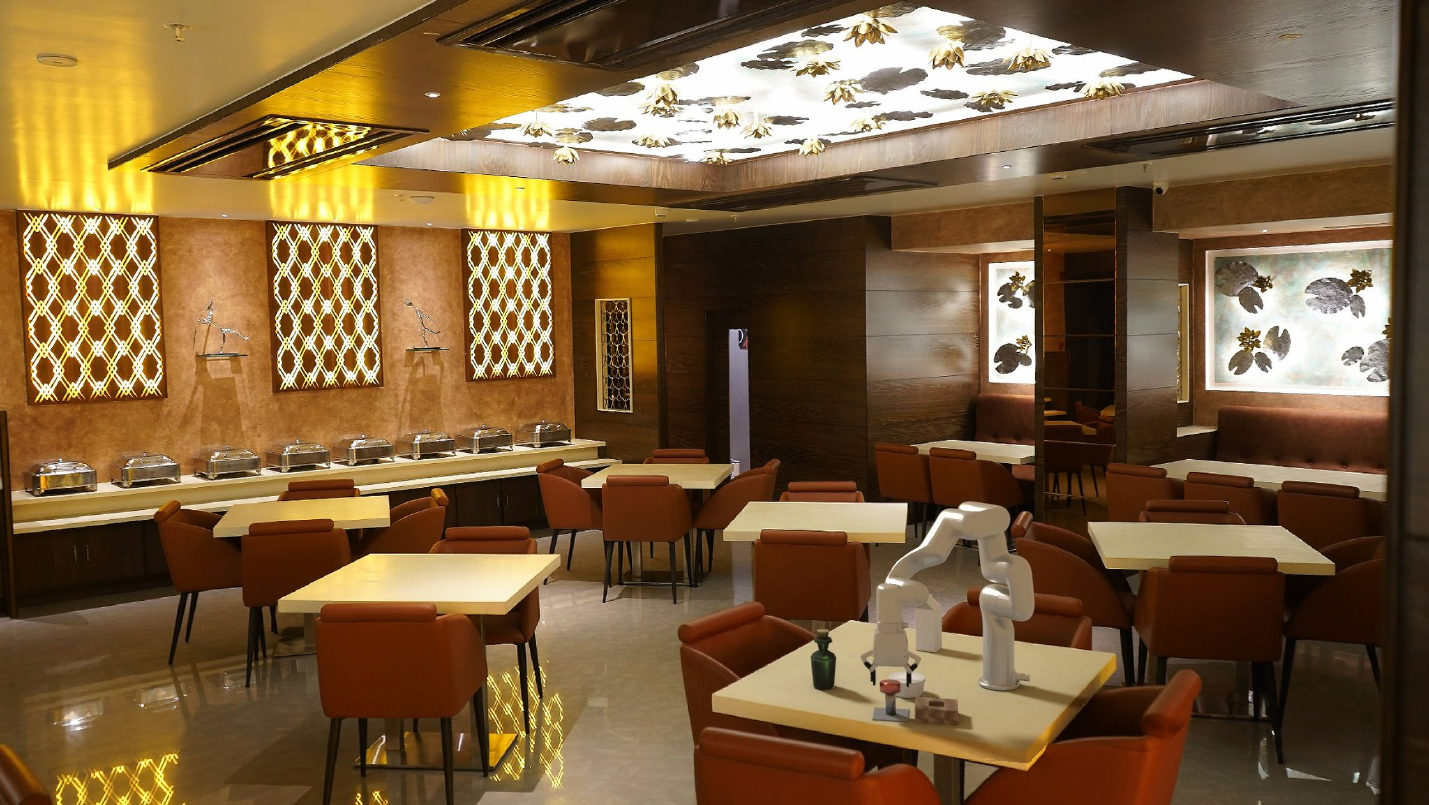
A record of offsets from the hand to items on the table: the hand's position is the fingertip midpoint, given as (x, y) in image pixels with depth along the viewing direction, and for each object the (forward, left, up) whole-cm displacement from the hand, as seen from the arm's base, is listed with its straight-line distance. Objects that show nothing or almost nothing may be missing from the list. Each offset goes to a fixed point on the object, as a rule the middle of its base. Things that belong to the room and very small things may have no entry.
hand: (891, 685), depth 297 cm
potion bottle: (+22, -22, -9) cm, 32 cm away
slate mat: (0, 0, -9) cm, 9 cm away
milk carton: (-10, -69, -9) cm, 70 cm away
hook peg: (0, 0, -9) cm, 9 cm away
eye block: (-13, 0, -9) cm, 16 cm away
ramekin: (-4, -20, -9) cm, 22 cm away
